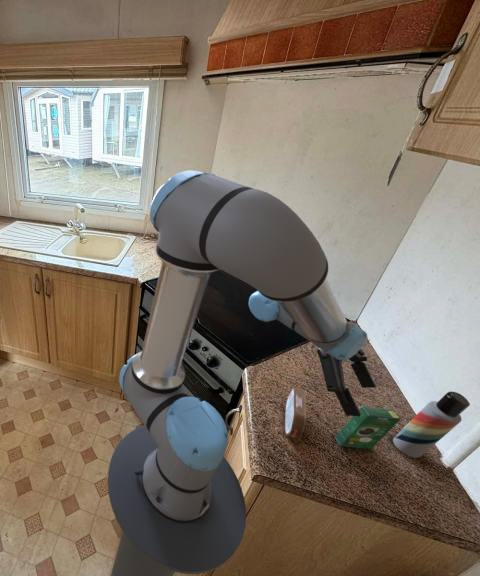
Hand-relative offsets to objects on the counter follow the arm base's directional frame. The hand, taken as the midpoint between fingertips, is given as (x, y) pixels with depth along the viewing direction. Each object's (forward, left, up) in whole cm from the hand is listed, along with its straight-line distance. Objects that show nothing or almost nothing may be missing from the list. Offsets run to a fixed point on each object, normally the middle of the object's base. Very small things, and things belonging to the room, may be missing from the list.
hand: (361, 400), depth 75 cm
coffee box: (+3, -3, -14) cm, 14 cm away
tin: (-11, +2, -14) cm, 18 cm away
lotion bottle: (+17, -3, -14) cm, 22 cm away
